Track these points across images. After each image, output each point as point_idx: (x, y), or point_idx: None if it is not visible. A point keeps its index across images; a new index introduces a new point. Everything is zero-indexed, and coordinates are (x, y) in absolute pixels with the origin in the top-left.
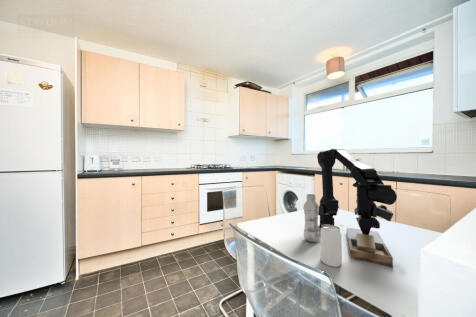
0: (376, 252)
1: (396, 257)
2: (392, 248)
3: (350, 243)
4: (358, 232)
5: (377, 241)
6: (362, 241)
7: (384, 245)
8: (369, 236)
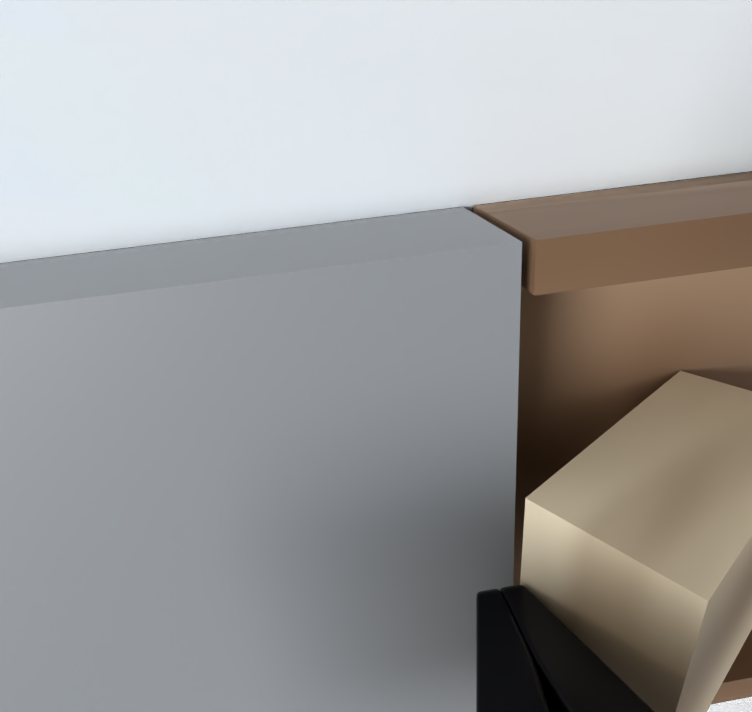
0: (656, 351)
1: (624, 21)
2: (137, 30)
3: (717, 692)
4: (47, 701)
5: (411, 389)
6: (740, 632)
7: (619, 258)
8: (701, 640)
